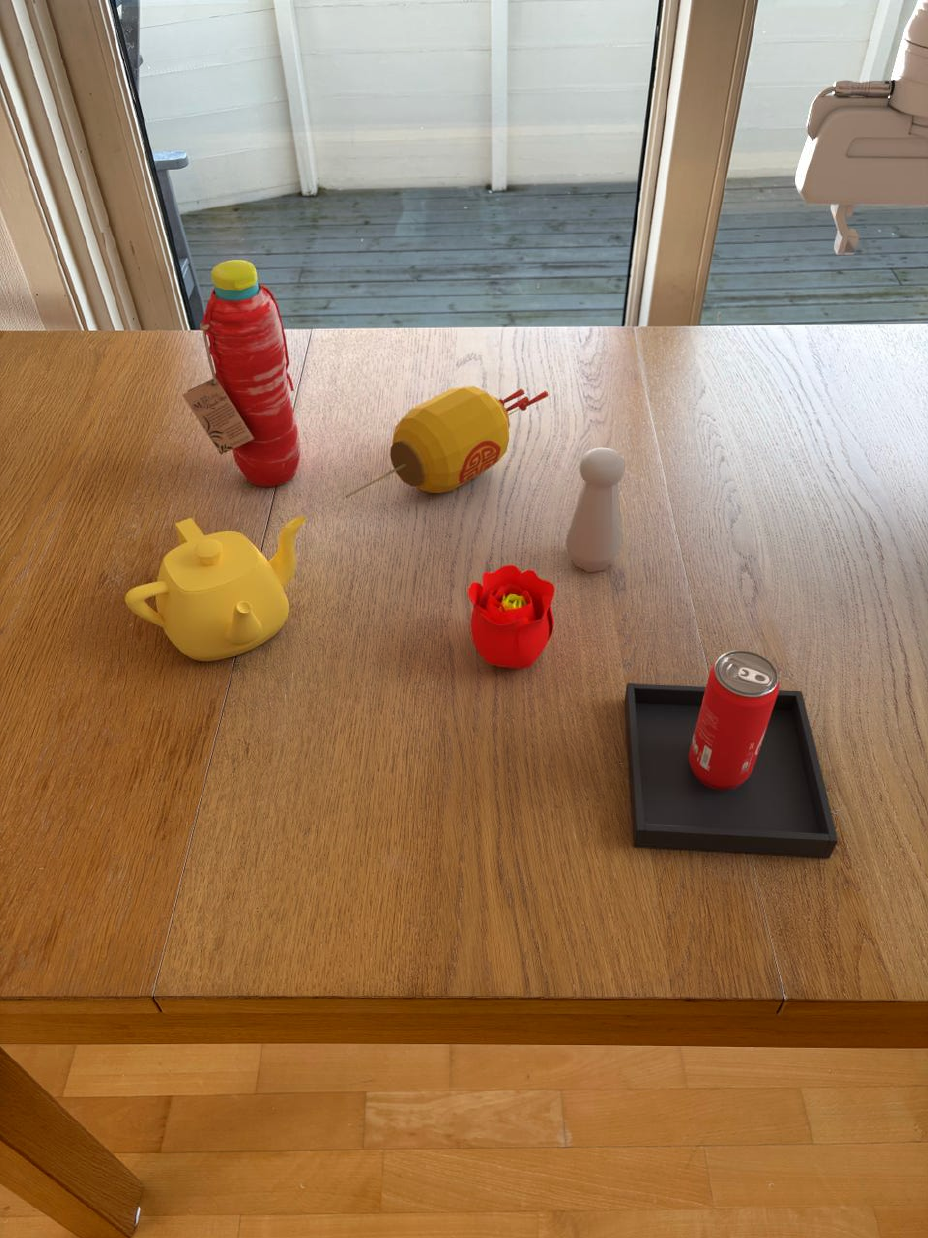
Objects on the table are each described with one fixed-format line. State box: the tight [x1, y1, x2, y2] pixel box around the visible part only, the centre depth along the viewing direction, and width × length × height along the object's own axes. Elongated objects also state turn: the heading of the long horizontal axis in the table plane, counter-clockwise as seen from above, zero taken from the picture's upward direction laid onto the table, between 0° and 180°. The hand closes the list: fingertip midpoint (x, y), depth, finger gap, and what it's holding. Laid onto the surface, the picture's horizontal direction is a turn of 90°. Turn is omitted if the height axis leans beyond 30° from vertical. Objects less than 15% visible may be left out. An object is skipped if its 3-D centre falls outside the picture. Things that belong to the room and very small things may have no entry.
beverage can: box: [689, 649, 780, 791], centre depth 75 cm, size 5×5×12 cm
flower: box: [467, 564, 556, 670], centre depth 87 cm, size 8×8×8 cm
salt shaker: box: [565, 447, 626, 573], centre depth 95 cm, size 6×6×13 cm
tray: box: [623, 682, 839, 859], centre depth 79 cm, size 15×15×2 cm
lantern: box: [345, 385, 549, 499], centre depth 107 cm, size 10×10×30 cm
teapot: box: [124, 515, 307, 662], centre depth 90 cm, size 14×13×10 cm
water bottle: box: [181, 259, 302, 488], centre depth 102 cm, size 12×8×25 cm, turn 132°
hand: (897, 253), depth 85 cm, fingers open, 8 cm apart
